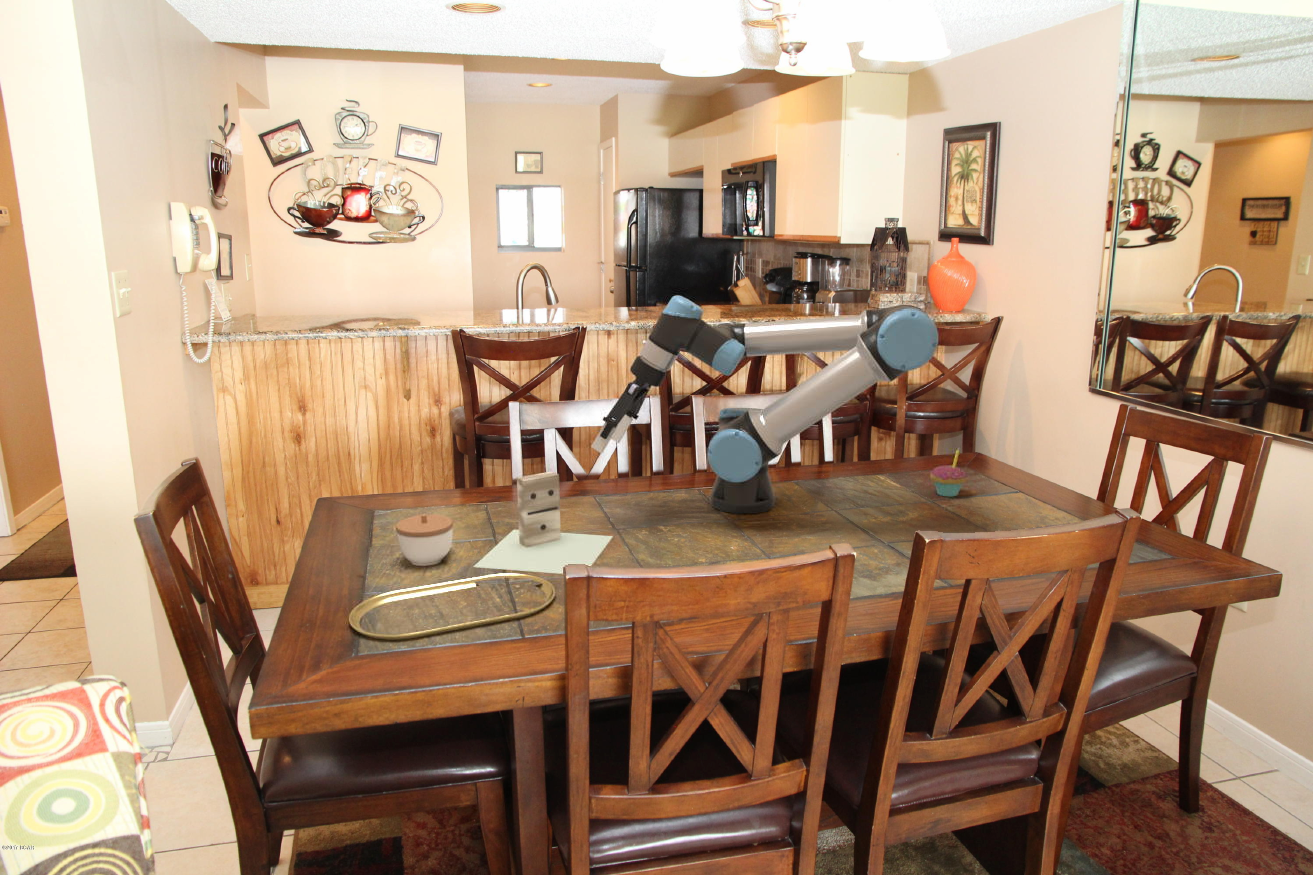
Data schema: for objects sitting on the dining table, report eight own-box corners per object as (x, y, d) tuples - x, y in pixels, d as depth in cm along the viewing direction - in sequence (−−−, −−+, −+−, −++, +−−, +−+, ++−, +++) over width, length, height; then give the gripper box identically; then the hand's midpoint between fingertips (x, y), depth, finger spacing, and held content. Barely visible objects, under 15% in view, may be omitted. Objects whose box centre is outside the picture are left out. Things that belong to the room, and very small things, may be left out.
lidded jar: (405, 574, 169) (401, 527, 167) (393, 556, 179) (390, 511, 176) (461, 564, 174) (458, 518, 172) (446, 547, 183) (444, 503, 181)
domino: (519, 543, 184) (516, 477, 181) (553, 535, 188) (551, 471, 185) (526, 547, 181) (524, 481, 178) (561, 539, 186) (559, 474, 183)
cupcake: (969, 492, 220) (973, 445, 217) (960, 501, 213) (964, 452, 210) (934, 487, 224) (937, 440, 221) (924, 495, 217) (927, 447, 214)
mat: (613, 538, 188) (613, 536, 188) (583, 578, 167) (583, 575, 167) (513, 532, 192) (513, 529, 192) (473, 569, 171) (473, 566, 171)
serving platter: (570, 612, 153) (570, 603, 153) (357, 653, 139) (356, 643, 139) (536, 574, 170) (536, 567, 170) (343, 608, 155) (342, 599, 155)
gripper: (651, 350, 206) (607, 427, 211) (623, 358, 182) (573, 444, 187) (679, 367, 205) (633, 444, 210) (654, 377, 181) (603, 464, 186)
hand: (605, 444), depth 199 cm, fingers open, 13 cm apart
